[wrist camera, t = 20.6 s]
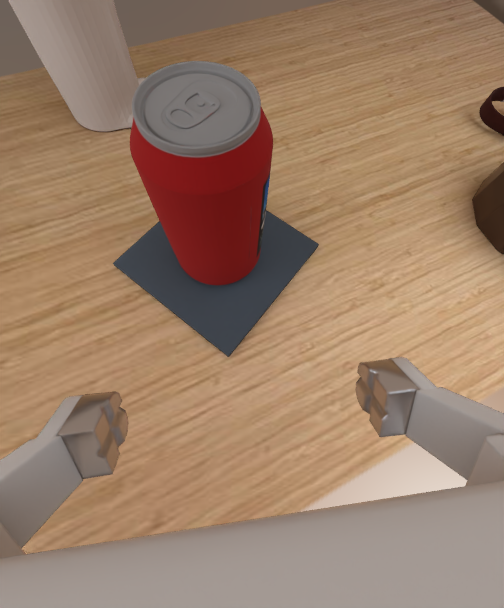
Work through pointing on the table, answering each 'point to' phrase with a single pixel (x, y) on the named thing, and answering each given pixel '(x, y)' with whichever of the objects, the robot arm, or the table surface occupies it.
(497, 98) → the watch
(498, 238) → the faceted ring
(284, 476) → the table surface
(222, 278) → the beverage can
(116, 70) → the candle
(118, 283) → the table surface
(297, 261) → the mat
